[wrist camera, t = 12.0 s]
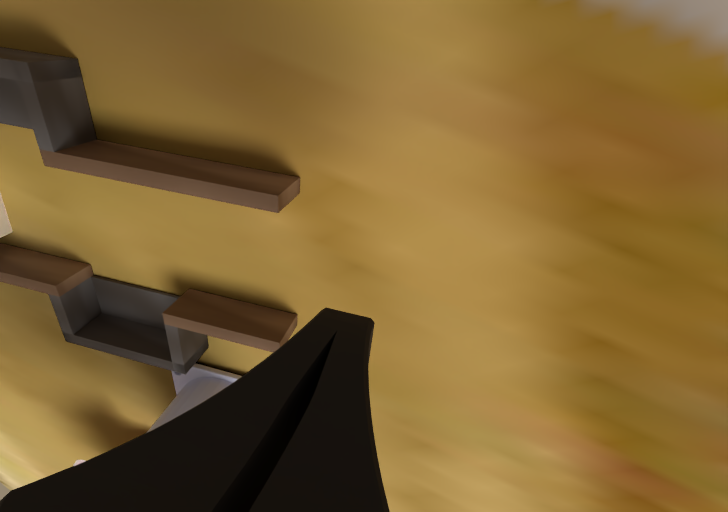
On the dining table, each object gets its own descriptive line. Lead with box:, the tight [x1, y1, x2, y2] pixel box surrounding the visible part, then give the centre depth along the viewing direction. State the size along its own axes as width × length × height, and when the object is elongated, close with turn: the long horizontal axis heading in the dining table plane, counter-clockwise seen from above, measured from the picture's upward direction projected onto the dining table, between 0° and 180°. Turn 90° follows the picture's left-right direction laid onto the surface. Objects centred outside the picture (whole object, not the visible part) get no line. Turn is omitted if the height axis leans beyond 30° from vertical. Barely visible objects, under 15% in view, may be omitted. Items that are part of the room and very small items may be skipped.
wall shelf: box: [0, 47, 300, 375], centre depth 22 cm, size 17×27×3 cm, turn 85°
